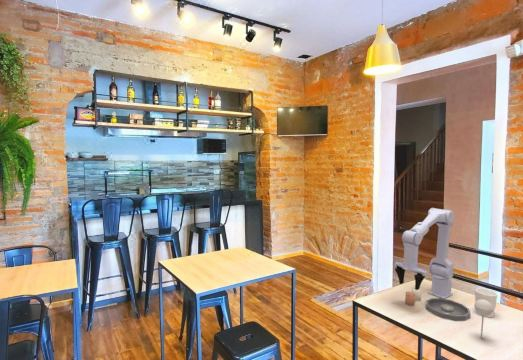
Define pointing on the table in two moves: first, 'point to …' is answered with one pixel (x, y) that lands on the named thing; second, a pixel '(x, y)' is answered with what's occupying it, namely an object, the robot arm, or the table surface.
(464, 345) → the table surface
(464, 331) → the table surface
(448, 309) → the groove tray
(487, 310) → the lollipop
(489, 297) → the white cup
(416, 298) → the bead cream
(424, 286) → the table surface
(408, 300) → the bead terracotta
